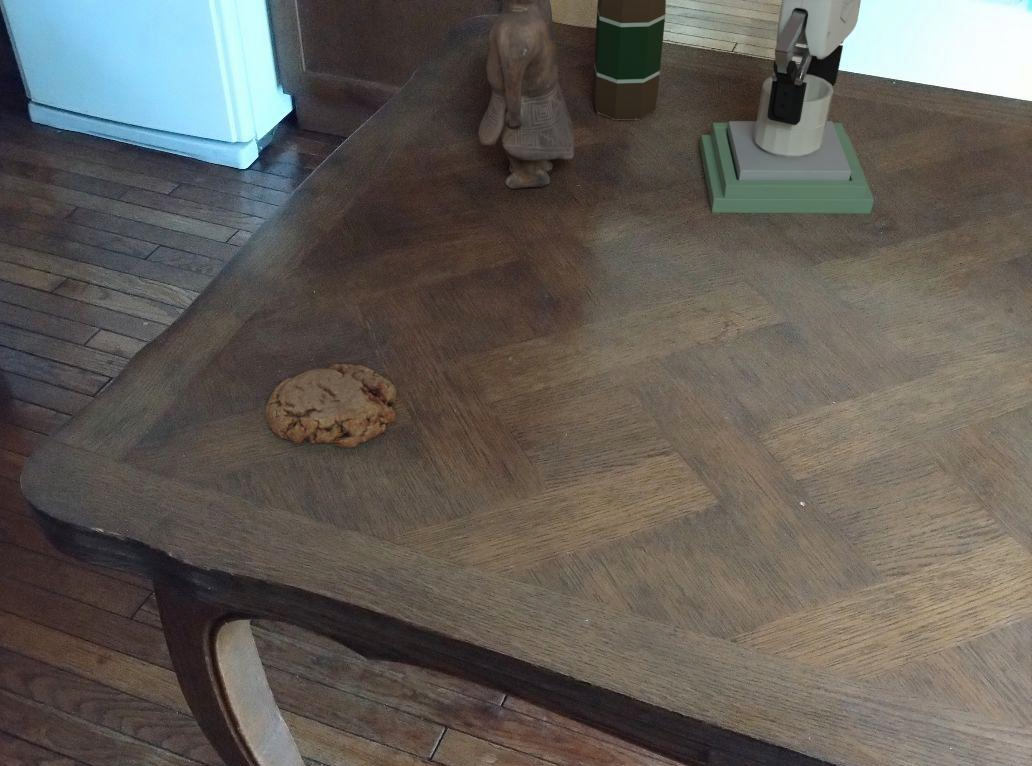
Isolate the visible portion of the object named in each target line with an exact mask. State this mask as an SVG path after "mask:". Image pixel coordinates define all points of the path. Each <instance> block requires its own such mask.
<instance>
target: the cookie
mask: <svg viewBox="0 0 1032 766" xmlns="http://www.w3.org/2000/svg"><path fill="white" fill-rule="evenodd" d="M396 400H397V388H396V386H395V385H394V384H393V383H392V382H391V381H390V380H388V379H386V378H385V377H384V376H382V375H381V374H379V373H375V370H373V369H371V368H370V367H367V366H364V365H363V364H357V365H355V364H351V363H348V364H345V363H341V364H340V363H335V364H332V365H330V366H329V367H328V368H314V369H309V370H306V371H305V372H302V373H300V374H297V375H295V376H294V377H289V378H286V379H283V381H282V382H280V383H279V384H278V385H277V386H276V387H275V388H274V390H273V391H272V392H271V394H270V395H269V398H268V400H267V403H266V406H265V420H266V424H267V426H268V427H269V429H270V428H271V429H272V430H271V429H270V430H271V432H272V433H273V432H274V433H273V434H274V435H275V434H276V435H277V436H276V435H275V436H276V437H278V436H279V437H280V438H281V439H284V440H286V441H292V442H293V444H298V445H299V444H300V445H302V444H303V443H306V442H308V445H309V446H312V445H316V444H329V443H331V444H334V445H335V446H337V447H339V448H356V447H357V446H359V445H360V444H364V443H366V442H367V441H369V440H370V439H373V438H375V437H377V436H379V435H381V434H383V433H384V432H385V431H386V430H387V429H389V428H388V427H390V426H391V425H392V423H393V422H396V418H397V414H396V411H395V410H394V409H395V406H396ZM279 437H278V438H279ZM280 438H279V439H280ZM302 442H303V443H302Z"/></svg>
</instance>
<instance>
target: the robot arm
mask: <svg viewBox="0 0 1032 766" xmlns="http://www.w3.org/2000/svg"><path fill="white" fill-rule="evenodd" d="M861 2H862V0H781V4H780V10H779V17H778V23H777V32H776V45H775V48H774V61H773V64H772V65H773V67H772V69H773V72H772V75H771V77H772V87H771V94H770V100H769V107H768V114H767V117H768V119H769V120H773V121H778V122H782V123H787V124H791V125H797V124H798V123H799V122H800V120H801V114H802V108H803V102H804V97H805V91H806V85H807V83H806V82H803V80H804V78H805V75H806V74H809V75H814V76H817V77H819V78H822V79H824V80H826V81H827V82H829V83H830V84H831V85H832V87H833V86H835V85H836V84H837V80H838V74H839V69H840V64H841V60H842V59H841V58H842V55H843V49H844V45H842V44H843V43H844V42H845V40H846V39H847V38H848V37H849V36H850V34H852V32H853V31H854V30H855V28H856V26H857V23H858V21H859V14H860V8H861ZM797 44H799V45H804V46H807V47H803V46H798V45H797ZM793 58H799V59H801V61H800V63H799V65H798V66H797V62H796V60H793Z"/></svg>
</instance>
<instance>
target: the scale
mask: <svg viewBox="0 0 1032 766" xmlns="http://www.w3.org/2000/svg"><path fill="white" fill-rule="evenodd" d="M728 123H729V122H713V123H712V126H711V133H710V134H701V136H700V143H699V152H700V151H701V152H700V157H702V158H701V163H702V162H703V163H702V167H703V173H704V178H705V183H706V189H707V194H708V199H709V205H710V210H711V213H712V214H820V215H821V214H822V215H823V214H824V215H825V214H827V215H829V214H830V215H831V214H833V215H835V214H837V215H838V214H839V215H841V214H843V215H845V214H846V215H850V214H851V215H871V214H872V209H873V205H874V202H875V198H874V196H873V193H872V191H871V188H870V186H869V183H868V181H867V179H866V176H865V173H864V170H863V168H862V166H861V164H860V160H859V158H858V156H857V153H856V151H855V148H854V146H853V143H852V140H851V138H850V136H849V135H848V134H847V133H846V131H845V128H844V126H843V123H842V122H832V123H833V125H834V128H835V130H836V133H837V136H838V138H839V141H840V143H841V146H842V149H843V151H844V154H845V157H846V159H847V162H848V164H849V167H850V170H851V174H850V178H849V181H829V180H738V178H737V174H736V169H735V165H734V160H733V156H732V152H731V147H730V143H729V139H728V134H727V130H728Z"/></svg>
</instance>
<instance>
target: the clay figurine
mask: <svg viewBox="0 0 1032 766" xmlns="http://www.w3.org/2000/svg"><path fill="white" fill-rule="evenodd" d="M493 1H494V2H499V1H500V0H493ZM505 2H506V5H505V6H504V7H503V9H502V10H501V12H500V13H499V15H498V16H497V18H496V19H495V22H494V24H493V26H492V27H491V29H490V32H489V35H488V39H489V40H488V41H489V51H488V55H487V59H486V77H487V81H488V83H489V85H490V87H491V97H490V100H489V104H488V106H487V108H486V111H485V112H484V115H483V116H482V119H481V121H480V123H479V127H478V133H477V135H478V138H479V142H480V143H481V145H482V146H483V147H494V146H495V145H497V144H498V142H499V141H500V142H501V144H502V148H503V149H504V152H505V155H506V156H507V159H508V161H509V163H510V164H509V168H508V169H509V172H510V174H509V175H508V176H507V178H506V179H505V181H504V182H505V183H504V184H505V186H507V187H508V189H511V190H516V189H523V188H542V187H545V186H547V185H549V184H550V183H551V181H550V180H551V178H550V176H549V174H548V173H549V172H550V171H552V169H553V166H554V165H553V162H551V161H552V160H562V161H563V160H564V161H570V160H572V159H573V158H574V156H575V132H574V131H575V130H574V126H573V122H572V118H571V116H570V112H569V109H568V105H567V103H566V100H565V97H564V95H563V91H562V88H561V86H560V82H559V59H558V58H559V57H558V50H557V41H556V35H555V28H554V20H553V11H552V4H551V0H505Z"/></svg>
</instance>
